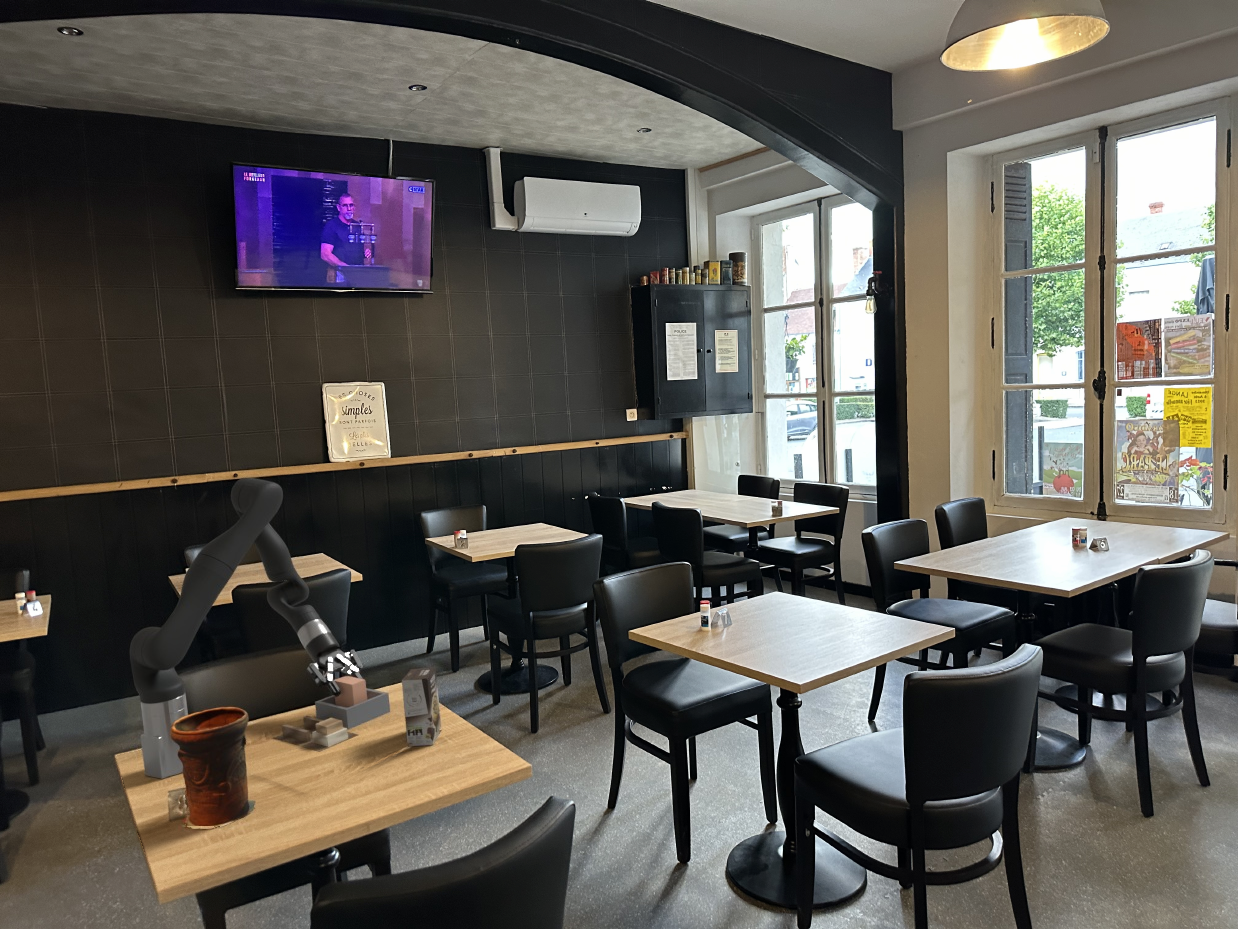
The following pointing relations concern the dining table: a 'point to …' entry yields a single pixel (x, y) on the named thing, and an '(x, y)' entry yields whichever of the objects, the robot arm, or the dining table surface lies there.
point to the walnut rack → (305, 734)
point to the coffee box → (421, 706)
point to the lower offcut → (330, 737)
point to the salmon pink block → (350, 691)
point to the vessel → (214, 765)
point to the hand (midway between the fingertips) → (350, 690)
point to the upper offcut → (329, 726)
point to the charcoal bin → (354, 709)
